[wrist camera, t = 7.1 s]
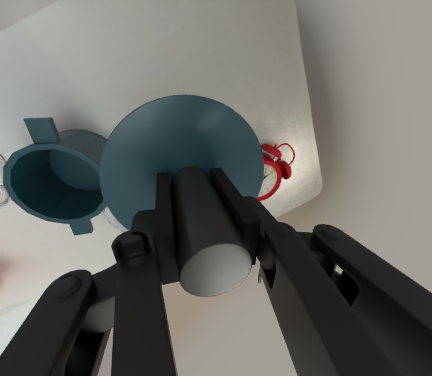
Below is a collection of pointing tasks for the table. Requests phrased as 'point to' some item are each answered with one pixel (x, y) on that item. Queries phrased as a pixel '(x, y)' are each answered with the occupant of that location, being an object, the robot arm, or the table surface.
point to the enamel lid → (186, 182)
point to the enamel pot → (57, 175)
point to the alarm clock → (273, 171)
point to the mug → (3, 191)
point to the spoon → (113, 220)
